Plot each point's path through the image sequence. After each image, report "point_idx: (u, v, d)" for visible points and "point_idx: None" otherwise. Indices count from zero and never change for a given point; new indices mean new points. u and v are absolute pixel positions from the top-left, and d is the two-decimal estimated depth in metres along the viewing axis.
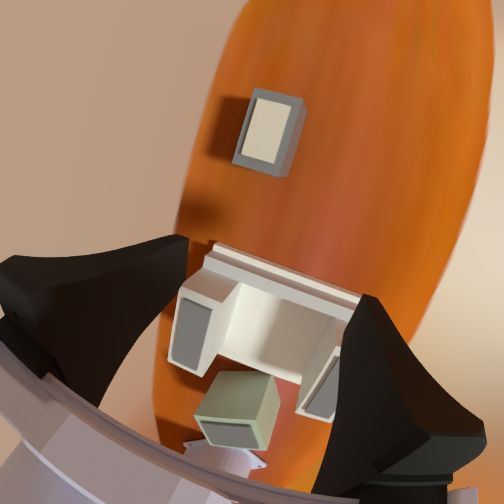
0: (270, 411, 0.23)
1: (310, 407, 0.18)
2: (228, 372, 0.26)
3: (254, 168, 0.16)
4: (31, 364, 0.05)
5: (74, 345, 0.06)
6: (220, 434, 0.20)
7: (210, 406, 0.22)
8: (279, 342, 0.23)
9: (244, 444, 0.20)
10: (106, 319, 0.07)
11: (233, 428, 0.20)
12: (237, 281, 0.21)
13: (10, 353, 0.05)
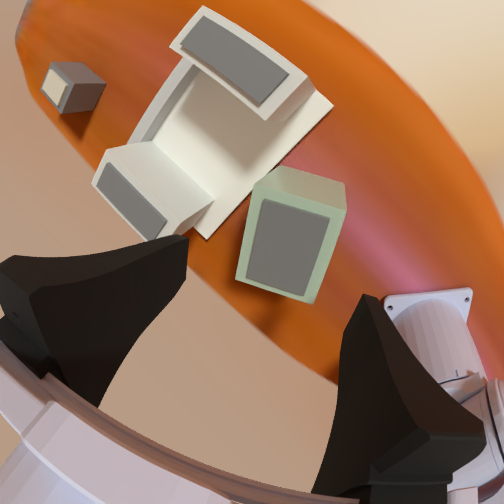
0: (310, 184, 0.16)
1: (250, 91, 0.12)
2: None
3: (66, 99, 0.17)
4: (31, 364, 0.05)
5: (74, 345, 0.06)
6: (276, 262, 0.14)
7: None
8: (229, 132, 0.18)
9: (311, 237, 0.13)
10: (106, 319, 0.07)
11: (261, 228, 0.14)
12: None
13: (10, 353, 0.05)
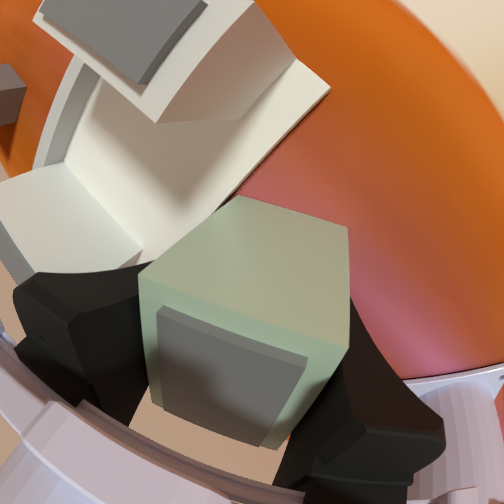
0: (279, 245, 0.08)
1: (120, 61, 0.04)
2: None
3: None
4: (31, 364, 0.05)
5: (111, 369, 0.06)
6: (205, 407, 0.07)
7: None
8: (153, 144, 0.10)
9: (264, 389, 0.06)
10: (141, 337, 0.07)
11: (166, 358, 0.06)
12: None
13: (36, 378, 0.05)
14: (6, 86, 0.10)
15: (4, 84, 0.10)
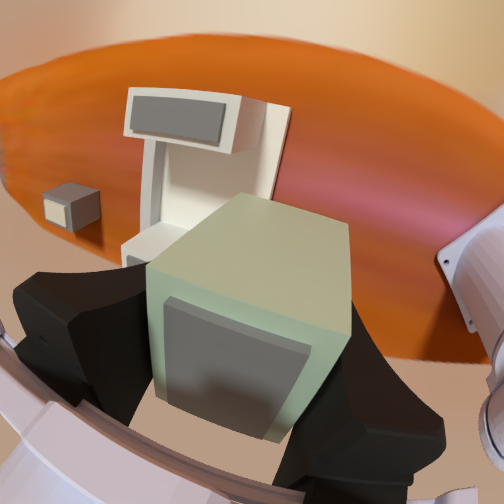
0: (282, 240, 0.08)
1: (203, 137, 0.13)
2: None
3: (71, 218, 0.22)
4: (31, 364, 0.05)
5: (111, 369, 0.06)
6: (209, 399, 0.07)
7: None
8: (219, 180, 0.20)
9: (268, 378, 0.06)
10: (141, 337, 0.07)
11: (172, 349, 0.06)
12: None
13: (36, 378, 0.05)
14: (84, 194, 0.23)
15: (81, 193, 0.23)
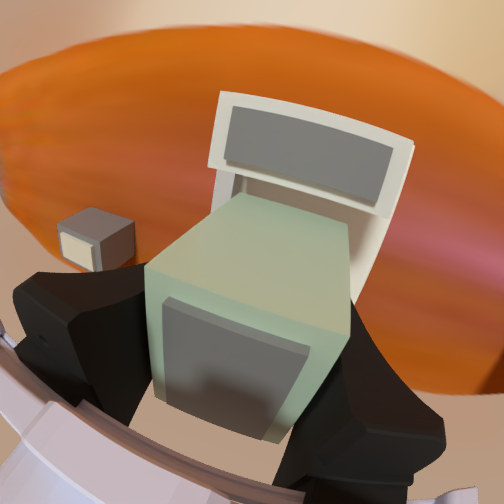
0: (281, 240, 0.08)
1: (357, 191, 0.09)
2: None
3: (100, 261, 0.17)
4: (31, 364, 0.05)
5: (111, 369, 0.06)
6: (208, 399, 0.07)
7: None
8: None
9: (267, 379, 0.06)
10: (141, 337, 0.07)
11: (171, 350, 0.06)
12: None
13: (36, 378, 0.05)
14: (115, 227, 0.19)
15: (111, 226, 0.19)
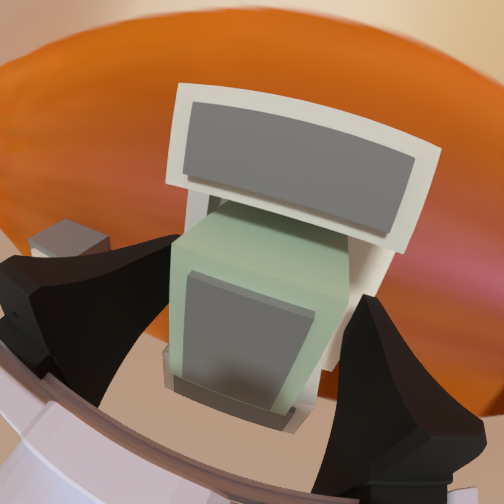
0: (287, 226, 0.09)
1: (364, 218, 0.06)
2: None
3: None
4: (31, 364, 0.05)
5: (74, 345, 0.06)
6: (223, 369, 0.08)
7: None
8: None
9: (278, 343, 0.07)
10: (106, 319, 0.07)
11: (191, 320, 0.07)
12: None
13: (10, 353, 0.05)
14: (87, 243, 0.16)
15: (83, 242, 0.16)
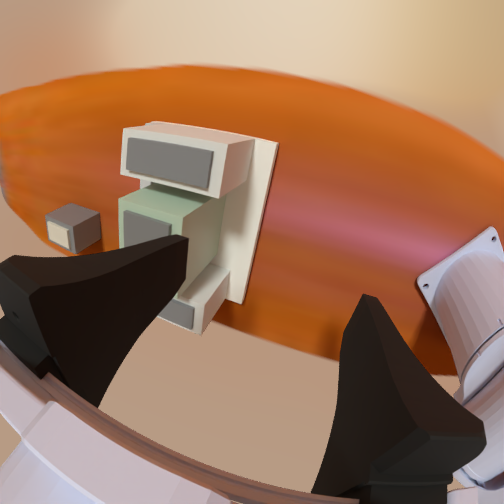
0: (179, 193, 0.18)
1: (193, 182, 0.15)
2: None
3: (73, 241, 0.23)
4: (31, 364, 0.05)
5: (74, 345, 0.06)
6: None
7: None
8: None
9: None
10: (106, 319, 0.07)
11: (126, 234, 0.16)
12: None
13: (10, 353, 0.05)
14: (85, 217, 0.25)
15: (83, 216, 0.25)
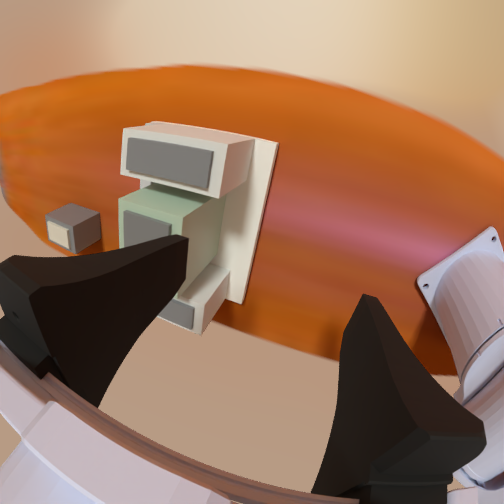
0: (179, 193, 0.18)
1: (193, 182, 0.15)
2: None
3: (73, 240, 0.23)
4: (31, 364, 0.05)
5: (74, 345, 0.06)
6: None
7: None
8: None
9: None
10: (106, 319, 0.07)
11: (126, 234, 0.16)
12: None
13: (10, 353, 0.05)
14: (85, 217, 0.25)
15: (83, 216, 0.25)
